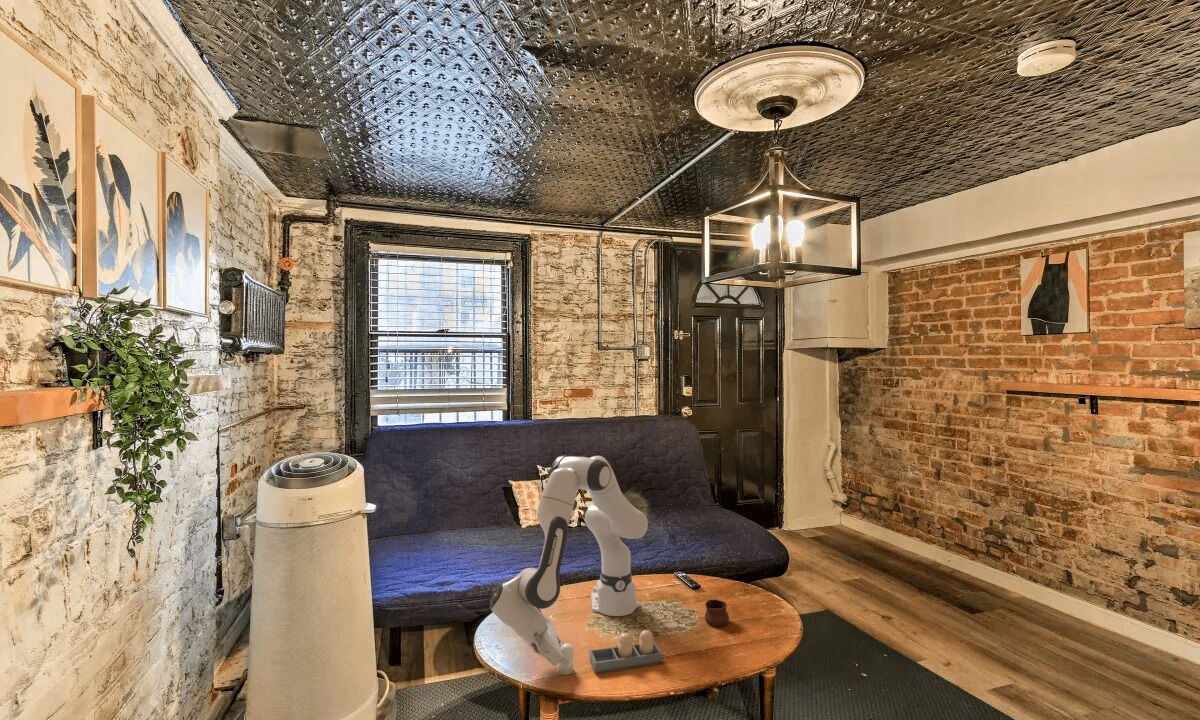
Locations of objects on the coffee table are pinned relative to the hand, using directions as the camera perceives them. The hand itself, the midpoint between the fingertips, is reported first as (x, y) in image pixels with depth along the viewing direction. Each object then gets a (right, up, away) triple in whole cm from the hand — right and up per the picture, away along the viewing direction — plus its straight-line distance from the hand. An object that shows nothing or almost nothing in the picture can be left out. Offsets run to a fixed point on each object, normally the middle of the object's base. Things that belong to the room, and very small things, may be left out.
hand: (565, 654), depth 169 cm
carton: (+19, -5, +5) cm, 20 cm away
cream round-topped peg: (0, -5, 0) cm, 5 cm away
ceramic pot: (+53, -5, +30) cm, 61 cm away
